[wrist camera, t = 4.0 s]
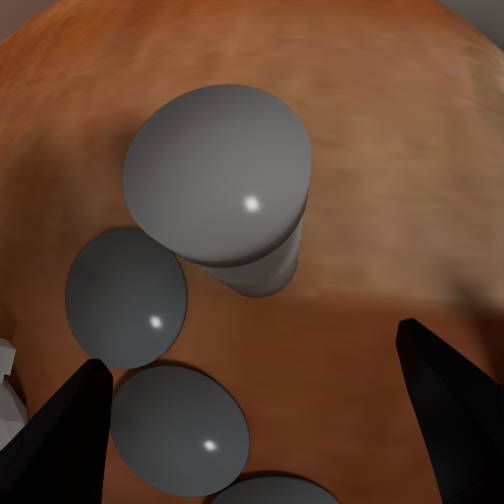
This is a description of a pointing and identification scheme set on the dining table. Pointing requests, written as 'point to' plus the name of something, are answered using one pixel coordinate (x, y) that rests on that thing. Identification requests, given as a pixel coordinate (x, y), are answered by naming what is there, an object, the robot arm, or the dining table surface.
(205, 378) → the coaster mid
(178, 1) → the dining table surface
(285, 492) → the coaster
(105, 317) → the coaster
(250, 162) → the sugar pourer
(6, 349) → the perfume bottle
